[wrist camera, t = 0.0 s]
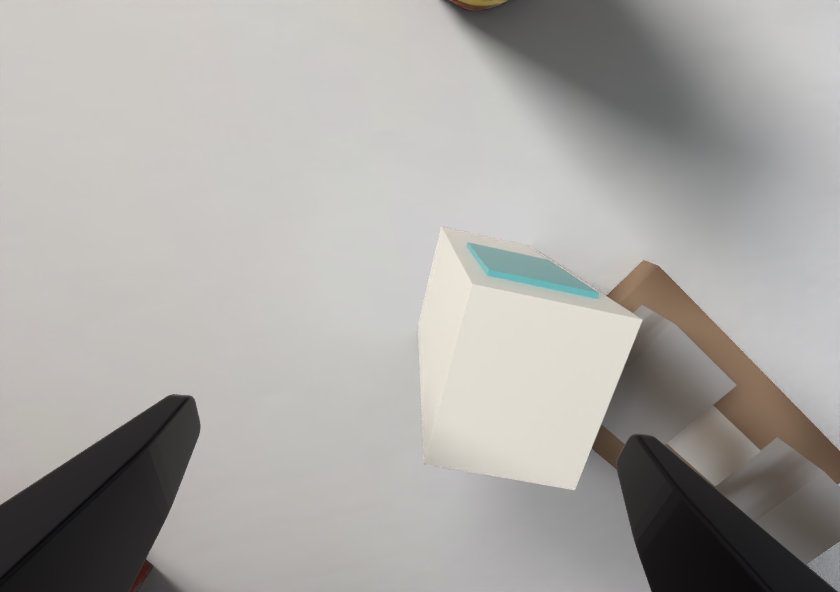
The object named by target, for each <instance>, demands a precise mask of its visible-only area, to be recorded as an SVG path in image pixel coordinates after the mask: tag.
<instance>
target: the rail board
mask: <svg viewBox="0 0 840 592" xmlns="http://www.w3.org/2000/svg"><path fill="white" fill-rule="evenodd" d="M607 297H609V298H610V299H612V300H613V301H615V302H616V303H618V304H619V305H621V306H622V307H624V308H625V309H627V310H629V311H630V312H632V313H633V314H635V315H636V316H638V317H639V318H641V319H642V323H641V325H640V328H639V330H638V333H637V335H636V338H635V340H634V343H633V345H632V348H631V350H630V353H629V355H628V358H627V360H626V363H625V365H624V368H623V370H622V373H621V375H620V378H619V380H618V383H617V385H616V388H615V391H614V393H613V396H612V398H611V401H610V403H609V406H608V408H607V411H606V413H605V416H604V418H603V421H602V423H601V426H600V428H599V431H598V433H597V436H596V438H595V441H594V443H593V446H592V449H593V450H594V451H596V452H597V453H598V454H599V455H600V456H602V457H603V458H604V459H605V460H606V461H608V462H609V463H610V464H611V465H612V466H614V467H615V468H616V469H617V458H618V456H619V454H620V452H621V451H622V449H623V447H624V445H625V443H626V442H627V440H628V438H629V437H630V436H631V435H632V434H645V435H651V436H654V437H655V438H657V439H658V440H659V441H660V442H661V443H663V444H664V445H665V446H666V447H667V448H669V449H670V450H671V451H672V452H673V453H674V454H676V455H677V456H678V457H679V458H680V459H681V460H683V461H684V462H685V463H686V464H687V465H689V466H690V467H691V468H692V469H693V470H694V471H696V472H697V473H698V474H699V475H700V476H702V477H703V478H704V479H705V480H706V481H707V482H709V483H710V484H711V485H712V486H713V487H715V488H716V489H717V490H718V491H719V492H720V493H722V494H723V495H724V496H725V497H726V498H728V499H729V500H730V501H731V502H732V503H733V504H735V505H736V506H737V507H738V508H739V509H741V510H742V511H743V512H744V513H745V514H746V515H748V516H749V517H750V518H751V519H752V520H754V521H755V522H756V523H757V524H758V525H759V526H761V527H762V528H763V529H764V530H765V531H767V532H768V533H769V534H770V535H771V536H772V537H774V538H775V539H776V540H777V541H778V542H780V543H781V544H782V545H783V546H784V547H785V548H787V549H788V550H789V551H790V552H791V553H793V554H794V555H795V556H796V557H797V558H798V559H800V560H801V561H802V562H803V563H804V564H807V563H809V562H810V561H812V560H813V559H814V558H816V557H817V556H819V555H820V554H822V553H823V552H825V551H826V550H827V549H829V548H830V547H832V546H833V545H835V544H836V543H838V542H839V541H840V487H839V486H838V485H837V484H839V483H840V451H839V450H838V449H837V448H836V447H835V446H834V445H833V444H832V443H831V442H830V441H829V440H828V439H827V438H826V437H825V436H824V434H823V433H822V432H821V431H820V430H819V429H818V428H817V427H816V426H815V425H814V424H813V423H812V422H811V421H810V420H809V419H808V418H807V417H806V416H805V415H804V414H803V413H802V412H801V411H800V410H799V409H798V408H797V407H796V406H795V405H794V404H793V403H792V402H791V401H790V400H789V399H788V398H787V397H786V396H785V395H784V394H783V393H782V392H781V390H780V389H779V388H778V387H777V386H776V385H775V384H774V383H773V382H772V381H771V380H770V379H769V378H768V377H767V376H766V375H765V374H764V373H763V372H762V371H761V370H760V369H759V368H758V367H757V366H756V365H755V364H754V363H753V362H752V361H751V360H750V359H749V358H748V357H747V356H746V355H745V354H744V353H743V352H742V351H741V350H740V349H739V348H738V346H737V345H736V344H735V343H734V342H733V341H732V340H731V339H730V338H729V337H728V336H727V335H726V334H725V333H724V332H723V331H722V330H721V329H720V328H719V327H718V326H717V325H716V324H715V323H714V322H713V321H712V320H711V319H710V318H709V317H708V316H707V315H706V314H705V313H704V312H703V311H702V310H701V309H700V308H699V307H698V306H697V305H696V303H695V302H694V301H693V300H692V299H691V298H690V297H689V296H688V295H687V294H686V293H685V292H684V291H683V290H682V289H681V288H680V287H679V286H678V285H677V284H676V283H675V282H674V281H673V280H672V279H671V278H670V277H669V276H668V275H667V274H666V273H665V272H664V271H663V270H662V269H661V268H660V267H659V266H657V265H655V264H652V263H650V262H647V261H645V260H644V261H643V262H642V263H640V264H639V265H638V266H637V267H636V268H635V269H634V270H633V271H632V272H631V273H630V274H629V275H628V276H627V277H626V278H625V279H624V280H623V281H622V282H621V283H620V284H619V285H617V286H616V287H615V288H614V289H613V290H612V291H611V292H610V293H609V294H608V295H607Z"/></svg>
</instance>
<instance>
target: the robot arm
mask: <svg viewBox="0 0 840 592" xmlns="http://www.w3.org/2000/svg"><path fill="white" fill-rule="evenodd" d="M199 433H200V420H199V415H198V411H197V407H196V402H195V399H194V398H193V397H192V396H189V395H177V394H172V395H169V396H167V397H165V398H164V399H162V400H161V401H159V402H158V403H156V404H155V405H153V406H152V407H150V408H148V409H147V410H145V411H144V412H142V413H141V414H139V415H138V416H136V417H135V418H133V419H132V420H130V421H129V422H127V423H125V424H124V425H122V426H121V427H119V428H118V429H116V430H115V431H113V432H112V433H110V434H109V435H107V436H106V437H104V438H102V439H101V440H99V441H98V442H96V443H95V444H93V445H92V446H90V447H89V448H87V449H86V450H84V451H83V452H81V453H79V454H78V455H76V456H75V457H73V458H72V459H70V460H69V461H67V462H66V463H64V464H63V465H61V466H60V467H58V468H56V469H55V470H53V471H52V472H50V473H49V474H47V475H46V476H44V477H43V478H41V479H40V480H38V481H37V482H35V483H33V484H32V485H30V486H29V487H27V488H26V489H24V490H23V491H21V492H20V493H18V494H17V495H15V496H14V497H12V498H10V499H9V500H7V501H6V502H4V503H3V504H1V505H0V592H129V591H130V589H131V587H132V585H133V583H134V581H135V579H136V577H137V575H138V573H139V571H140V569H141V567H142V565H143V563H144V561H145V559H146V557H147V555H148V553H149V552H150V550H151V548H152V546H153V544H154V542H155V540H156V538H157V536H158V534H159V532H160V530H161V528H162V526H163V524H164V522H165V520H166V518H167V516H168V513H169V511H170V509H171V507H172V504H173V502H174V499H175V497H176V494H177V492H178V489H179V486H180V484H181V481H182V479H183V476H184V473H185V471H186V468H187V465H188V463H189V460H190V458H191V455H192V452H193V450H194V447H195V445H196V442H197V439H198V437H199ZM617 472H618V476H619V480H620V484H621V489H622V493H623V497H624V501H625V505H626V509H627V513H628V518H629V522H630V526H631V530H632V534H633V537H634V541H635V544H636V548H637V551H638V554H639V557H640V560H641V563H642V565H643V568H644V571H645V574H646V577H647V580H648V583H649V586H650V588H651V591H652V592H837V591H836V590H835V589H834V588H833V587H832V586H830V585H829V584H828V583H827V582H826V581H824V580H823V579H822V578H821V577H820V576H819V575H817V574H816V573H815V572H814V571H813V570H811V569H810V568H809V567H808V566H807V565H806V564H804V563H803V562H802V561H801V560H800V559H798V558H797V557H796V556H795V555H794V554H793V553H791V552H790V551H789V550H788V549H787V548H785V547H784V546H783V545H782V544H781V543H780V542H778V541H777V540H776V539H775V538H774V537H772V536H771V535H770V534H769V533H768V532H767V531H765V530H764V529H763V528H762V527H761V526H759V525H758V524H757V523H756V522H755V521H754V520H752V519H751V518H750V517H749V516H748V515H746V514H745V513H744V512H743V511H742V510H741V509H739V508H738V507H737V506H736V505H735V504H733V503H732V502H731V501H730V500H729V499H728V498H726V497H725V496H724V495H723V494H722V493H720V492H719V491H718V490H717V489H716V488H715V487H713V486H712V485H711V484H710V483H709V482H707V481H706V480H705V479H704V478H703V477H702V476H700V475H699V474H698V473H697V472H696V471H694V470H693V469H692V468H691V467H690V466H689V465H687V464H686V463H685V462H684V461H683V460H681V459H680V458H679V457H678V456H677V455H676V454H674V453H673V452H672V451H671V450H670V449H669V448H667V447H666V446H665V445H664V444H663V443H661V442H660V441H659V440H658V439H657V438H655V437H654V436H651V435H645V434H632V435H631V436H630V437H629V438H628V440H627V442H626V443H625V445H624V447H623V449H622V451H621V452H620V454H619V456H618V458H617Z"/></svg>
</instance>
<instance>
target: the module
mask: <svg viewBox="0 0 840 592" xmlns="http://www.w3.org/2000/svg"><path fill="white" fill-rule="evenodd" d="M641 323H642V319H641V318H639V317H638V316H636V315H635V314H633V313H632V312H630V311H629V310H627V309H625V308H624V307H622V306H621V305H619V304H618V303H616V302H615V301H613V300H612V299H610V298H609V297H607V296H605V295H604V294H602V293H601V292H599V291H598V290H596V289H595V288H593V287H592V286H590V285H589V284H587V283H585V282H584V281H582V280H581V279H579V278H578V277H576V276H575V275H573V274H572V273H570V272H569V271H567V270H565V269H564V268H562V267H561V266H559V265H558V264H556V263H555V262H553V261H552V260H550V259H549V258H547V257H545V256H544V255H542V254H541V253H539V252H538V251H536V250H535V249H533V248H532V247H530V246H529V245H524V244H520V243H515V242H511V241H506V240H502V239H497V238H493V237H488V236H484V235H479V234H475V233H470V232H466V231H461V230H456V229H452V228H447V227H443V226H441V230H440V234H439V238H438V242H437V247H436V251H435V255H434V259H433V264H432V268H431V272H430V276H429V281H428V285H427V289H426V294H425V298H424V302H423V306H422V311H421V315H420V319H419V323H418V341H419V363H420V385H421V407H422V429H423V451H424V464H425V465H431V466H437V467H443V468H448V469H454V470H460V471H466V472H472V473H478V474H483V475H489V476H495V477H501V478H507V479H513V480H518V481H524V482H530V483H536V484H542V485H548V486H553V487H559V488H565V489H571V490H575V488H576V486H577V483H578V481H579V478H580V476H581V473H582V471H583V468H584V466H585V463H586V461H587V458H588V456H589V453H590V451H591V448H592V446H593V443H594V441H595V438H596V436H597V433H598V431H599V428H600V426H601V423H602V421H603V418H604V416H605V413H606V411H607V408H608V406H609V403H610V401H611V398H612V396H613V393H614V391H615V388H616V385H617V383H618V380H619V378H620V375H621V373H622V370H623V368H624V365H625V363H626V360H627V358H628V355H629V353H630V350H631V348H632V345H633V343H634V340H635V338H636V335H637V333H638V330H639V328H640V325H641Z"/></svg>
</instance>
